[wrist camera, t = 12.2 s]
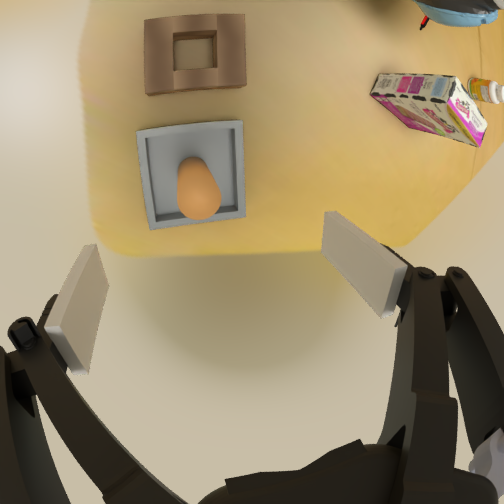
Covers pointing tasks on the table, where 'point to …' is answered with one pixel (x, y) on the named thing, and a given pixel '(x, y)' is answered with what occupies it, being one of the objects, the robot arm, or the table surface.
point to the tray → (179, 148)
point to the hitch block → (194, 27)
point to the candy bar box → (432, 105)
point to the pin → (197, 190)
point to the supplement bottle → (486, 90)
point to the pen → (424, 22)
